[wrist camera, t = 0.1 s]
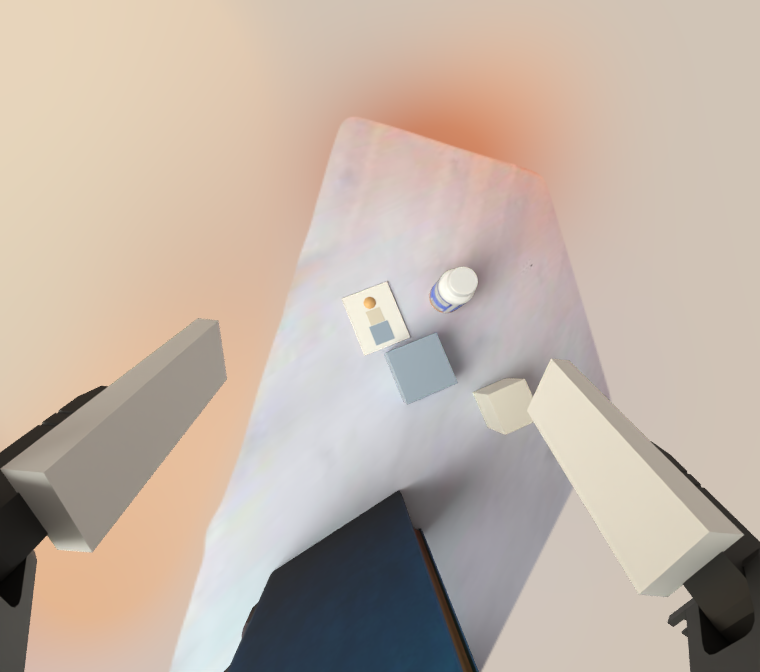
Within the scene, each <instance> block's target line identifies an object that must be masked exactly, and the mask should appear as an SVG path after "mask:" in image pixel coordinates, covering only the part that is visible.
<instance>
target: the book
mask: <svg viewBox="0 0 760 672" xmlns="http://www.w3.org/2000/svg"><path fill="white" fill-rule="evenodd" d="M224 672H479V671H478V669H477V666H476V664H475V661H474V659H473V656H472V654H471V651H470V649H469V646H468V644H467V641H466V639H465V636H464V634H463V631H462V629H461V626H460V624H459V621H458V619H457V616H456V614H455V611H454V609H453V606H452V604H451V601H450V599H449V596H448V594H447V591H446V589H445V586H444V584H443V581H442V579H441V576H440V574H439V571H438V569H437V566H436V564H435V561H434V559H433V556H432V554H431V551H430V549H429V546H428V544H427V541H426V539H425V536H424V534H423V532H422V530H421V528H420V529H419V530H416V529H414V528H413V526H412V523H411V520H410V517H409V514H408V511H407V508H406V506H405V503H404V500H403V497H402V495H401V493H400V491H399V490H398V491H397V492H395V493H394V494H392V495H391V496H389V497H387V498H386V499H384V500H383V501H381V502H380V503H378V504H377V505H375V506H374V507H372V508H371V509H369V510H367V511H366V512H364V513H363V514H361V515H360V516H358V517H357V518H355V519H354V520H352V521H350V522H349V523H347V524H346V525H344V526H343V527H341V528H340V529H338V530H337V531H335V532H333V533H332V534H330V535H329V536H327V537H326V538H324V539H323V540H321V541H320V542H318V543H316V544H315V545H313V546H312V547H310V548H309V549H307V550H306V551H304V552H303V553H301V554H300V555H298V556H296V557H295V558H293V559H292V560H290V561H289V562H287V563H286V564H284V565H283V566H281V567H279V568H278V569H276V570H275V571H273V572H272V574H271V575H270V577H269V579H268V582H267V584H266V586H265V588H264V591H263V593H262V595H261V597H260V600H259V602H258V603H257V604H256V605H255V606H254V607H253V608H252V610H251V612H250V614H249V617H248V619H247V621H246V623H245V626H244V628H243V632H242V640H241V642H240V644H239V646H238V649H237V651H236V653H235V655H234V658H233V660H232V662H231V664H230V666H229V667H228V668H227V669H226V670H225V671H224Z"/></svg>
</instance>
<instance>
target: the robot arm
mask: <svg viewBox="0 0 760 672" xmlns="http://www.w3.org/2000/svg"><path fill="white" fill-rule="evenodd" d="M226 380H227V376H226V370H225V363H224V355H223V348H222V341H221V334H220V328H219V321H218V320H210V319H201V318H198V319H196V320H195V321H194V322H192V323H191V324H190V325H189V326H187V327H186V328H184V329H183V330H182V331H181V332H179V333H178V334H177V335H175V336H174V337H173V338H171V339H170V340H169V341H167V342H166V343H165V344H163V345H162V346H161V347H160V348H158V349H157V350H156V351H154V352H153V353H152V354H150V355H149V356H148V357H146V358H145V359H144V360H142V361H141V362H140V363H138V364H137V365H136V366H135V367H133V368H132V369H131V370H129V371H128V372H127V373H125V374H124V375H123V376H121V377H120V378H119V379H117V380H116V381H115V382H114V383H112V384H111V385H110V386H100V387H98V388H96V389H94V390H91V391H89V392H87V393H85V394H83V395H80V396H78V397H77V398H75V399H74V400H73V401H71V402H70V403H68V404H67V405H66V406H64V407H63V408H61V409H60V410H59V412H58V413H55V414H53V415H52V416H50V417H49V418H48V419H46V420H45V421H43V424H42V425H38V426H36V427H35V428H34V429H33V430H31V431H29V432H28V433H27V434H25V435H24V436H22V437H21V438H20V439H18V440H17V441H16V442H14V443H13V444H11V445H10V446H9V447H7V448H6V449H4V450H3V451H2V452H1V453H0V672H24V668H25V660H26V651H27V642H28V634H29V625H30V616H31V607H32V599H33V590H34V581H35V573H36V564H37V559H36V555H35V552H34V550H33V549H34V548H35V547H36V546H37V545H38V544H39V543H40V542H41V541H42V540H43V539H44V538H45V537H46V536H48V537H49V538H50V540H51V541H52V543H53V544H54V546H55V547H56V548H57V550H68V551H69V550H70V551H81V552H93V551H94V550H95V548H96V547H97V546H98V544H99V543H100V542H101V540H102V539H103V538H104V537H105V535H106V534H107V533H108V532H109V530H110V529H111V528H112V526H113V525H114V524H115V523H116V521H117V520H118V519H119V517H120V516H121V515H122V513H123V512H124V511H125V510H126V508H127V507H128V506H129V505H130V503H131V502H132V500H133V499H134V498H135V497H136V495H137V494H138V493H139V491H140V490H141V489H142V488H143V486H144V485H145V484H146V483H147V481H148V480H149V479H150V477H151V476H152V475H153V474H154V472H155V471H156V470H157V468H158V467H159V466H160V465H161V463H162V462H163V461H164V459H165V458H166V456H167V455H168V454H169V453H170V452H171V450H172V449H173V448H174V447H175V445H176V444H177V443H178V441H179V440H180V439H181V438H182V436H183V435H184V434H185V432H186V431H187V430H188V428H189V427H190V426H191V424H192V423H193V422H194V420H195V419H196V418H197V417H198V416H199V414H200V413H201V412H202V410H203V409H204V408H205V407H206V405H207V404H208V403H209V401H210V400H211V399H212V398H213V396H214V395H215V394H216V392H217V391H218V390H219V388H220V387H221V386H222V385H223V383H224V382H225V381H226ZM527 412H528V413H529V415H530V417H531V418H532V420H533V422H534V423H535V425H536V427H537V428H538V430H539V431H540V433H541V435H542V436H543V438H544V440H545V441H546V443H547V445H548V446H549V448H550V450H551V451H552V453H553V455H554V456H555V458H556V459H557V461H558V463H559V464H560V466H561V468H562V469H563V471H564V473H565V474H566V476H567V478H568V479H569V481H570V482H571V484H572V486H573V487H574V489H575V491H576V492H577V494H578V496H579V497H580V499H581V501H582V502H583V504H584V505H585V507H586V508H587V510H588V512H589V514H590V515H591V517H592V519H593V520H594V522H595V523H596V525H597V527H598V528H599V530H600V532H601V533H602V535H603V537H604V538H605V540H606V541H607V543H608V545H609V547H610V548H611V550H612V552H613V553H614V555H615V556H616V558H617V560H618V561H619V563H620V565H621V566H622V568H623V570H624V571H625V573H626V574H627V576H628V578H629V579H630V581H631V583H632V584H633V586H634V588H635V589H636V591H637V593H638V594H639V595H650V596H663V597H668V596H670V595H671V594H672V593H673V592H675V591H676V590H677V589H678V588H679V587H681V586H682V585H684V586H685V588H686V589H687V590H688V591H689V593H690V594H691V596H692V597H693V598H692V599H691V600H690V601H688V602H687V603H686V604H684V605H683V606H682V607H680V608H679V609H678V610H677V611H675V612H674V613H673V614H671V615H670V616H669V619H668V624H670V625H671V626H673V627H674V626H675V625H677V624H678V623H679V622H681V621H682V620H683V619H684V620H687V628H685V629H684V630H683V631H682V634H684V635H685V636H687V637H688V645H689V659H690V671H691V672H760V542H759V541H758V540H757V539H756V538H755V537H754V536H753V535H752V534H751V533H750V532H749V531H748V530H747V529H746V528H745V527H744V526H743V525H742V524H741V523H740V522H739V521H738V520H737V519H736V518H735V517H734V516H733V515H732V514H730V513H729V511H728V510H727V509H725V508H724V507H723V506H722V505H721V504H720V503H719V502H718V501H717V500H716V499H715V498H714V497H713V496H712V495H711V494H710V493H709V492H708V491H707V490H706V489H705V488H702V487H701V484H700V483H699V482H698V481H697V480H696V479H695V478H694V477H693V476H692V475H691V474H687V471H686V470H685V469H684V468H683V467H682V466H681V465H680V464H679V463H678V462H677V461H676V460H675V459H674V458H673V457H672V456H671V455H670V454H668V453H667V452H666V451H664V450H663V449H661V448H660V447H658V446H657V445H656V444H654V443H653V442H651V441H649V440H648V439H647V438H646V437H645V436H644V435H643V434H642V433H641V432H640V431H639V430H638V429H637V428H636V427H635V426H634V425H633V424H632V423H631V422H630V421H629V420H628V419H627V418H626V417H625V416H624V415H623V414H622V413H621V412H620V411H619V410H618V409H617V408H616V407H615V406H614V405H613V404H612V403H611V402H610V401H609V400H608V399H607V398H606V397H605V396H604V395H603V394H602V393H601V392H600V391H599V390H598V389H597V388H596V387H595V386H594V385H593V384H592V383H591V382H590V381H589V380H588V379H587V378H586V377H585V376H584V375H583V374H582V373H581V372H580V371H579V370H578V369H577V368H576V367H575V366H574V365H573V364H572V363H571V362H570V361H568V360H559V359H551V360H550V362H549V364H548V366H547V368H546V370H545V373H544V375H543V377H542V379H541V381H540V383H539V385H538V388H537V390H536V392H535V394H534V396H533V398H532V401H531V403H530V405H529V407H528V409H527Z"/></svg>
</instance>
